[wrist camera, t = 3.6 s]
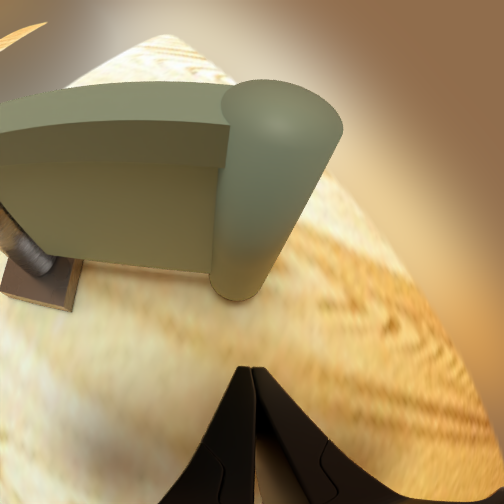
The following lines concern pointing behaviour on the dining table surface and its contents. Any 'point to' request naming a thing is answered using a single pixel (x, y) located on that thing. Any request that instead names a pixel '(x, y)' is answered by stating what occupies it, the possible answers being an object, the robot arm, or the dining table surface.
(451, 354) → the dining table surface
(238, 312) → the dining table surface
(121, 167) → the gate
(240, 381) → the robot arm
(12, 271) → the hinge post
